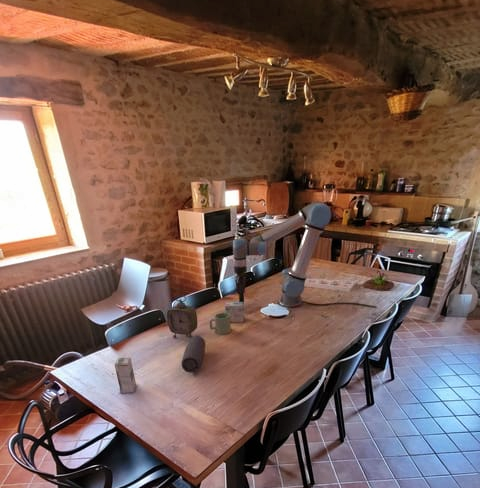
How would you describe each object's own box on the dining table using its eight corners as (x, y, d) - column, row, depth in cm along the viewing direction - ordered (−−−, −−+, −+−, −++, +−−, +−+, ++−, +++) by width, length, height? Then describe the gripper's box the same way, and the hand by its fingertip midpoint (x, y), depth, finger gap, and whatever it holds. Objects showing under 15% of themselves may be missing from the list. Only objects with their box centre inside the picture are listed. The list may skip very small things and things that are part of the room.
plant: (369, 280, 275) (371, 266, 270) (396, 284, 265) (398, 269, 259) (360, 288, 261) (362, 272, 256) (388, 292, 251) (390, 276, 245)
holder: (291, 284, 276) (291, 281, 275) (300, 278, 289) (300, 274, 288) (349, 291, 255) (350, 288, 254) (356, 284, 268) (357, 281, 267)
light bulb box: (244, 318, 222) (243, 301, 217) (243, 322, 216) (242, 305, 211) (227, 318, 223) (226, 301, 218) (225, 322, 217) (224, 305, 212)
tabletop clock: (170, 338, 201) (163, 295, 189) (178, 332, 208) (172, 290, 196) (193, 341, 196) (188, 297, 184) (200, 334, 204) (195, 292, 192)
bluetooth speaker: (189, 352, 185) (187, 334, 180) (207, 351, 185) (205, 334, 180) (181, 375, 166) (178, 356, 161) (201, 375, 165) (199, 355, 160)
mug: (229, 327, 211) (228, 312, 206) (231, 333, 204) (230, 317, 199) (209, 329, 210) (208, 314, 205) (211, 335, 202) (209, 319, 197)
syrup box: (123, 386, 160) (116, 357, 153) (136, 385, 160) (130, 356, 153) (120, 393, 155) (113, 364, 148) (134, 392, 155) (127, 363, 148)
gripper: (238, 262, 222) (239, 299, 234) (230, 268, 212) (232, 306, 223) (249, 263, 220) (250, 300, 231) (242, 269, 209) (243, 307, 221)
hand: (241, 303), depth 227 cm, fingers closed
